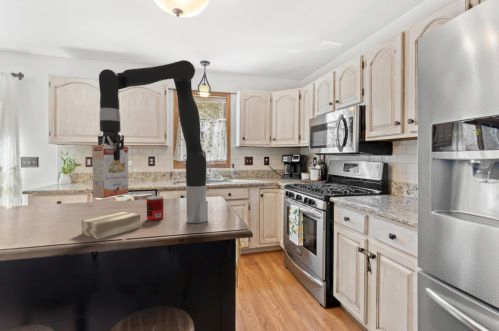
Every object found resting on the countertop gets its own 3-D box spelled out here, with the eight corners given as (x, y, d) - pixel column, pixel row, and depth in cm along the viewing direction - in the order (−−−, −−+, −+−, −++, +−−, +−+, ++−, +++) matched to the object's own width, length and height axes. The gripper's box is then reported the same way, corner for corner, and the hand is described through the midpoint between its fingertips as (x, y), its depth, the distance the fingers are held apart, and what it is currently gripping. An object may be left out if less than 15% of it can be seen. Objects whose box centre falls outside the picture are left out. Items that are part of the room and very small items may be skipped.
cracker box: (105, 198, 98) (103, 144, 97) (92, 198, 99) (90, 145, 98) (129, 193, 111) (128, 146, 110) (117, 192, 112) (116, 146, 112)
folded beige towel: (140, 228, 110) (140, 214, 110) (97, 239, 95) (97, 224, 94) (124, 224, 116) (124, 211, 116) (82, 234, 101) (81, 220, 101)
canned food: (166, 217, 128) (165, 195, 128) (159, 221, 120) (158, 198, 120) (151, 216, 129) (151, 195, 128) (143, 220, 121) (143, 198, 121)
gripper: (129, 120, 104) (130, 160, 104) (108, 122, 110) (108, 160, 111) (112, 118, 97) (113, 160, 98) (90, 120, 104) (91, 160, 104)
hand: (111, 160), depth 104 cm, fingers closed on cracker box, 6 cm apart
